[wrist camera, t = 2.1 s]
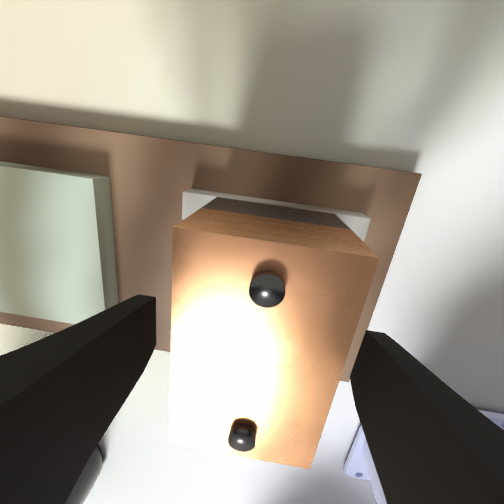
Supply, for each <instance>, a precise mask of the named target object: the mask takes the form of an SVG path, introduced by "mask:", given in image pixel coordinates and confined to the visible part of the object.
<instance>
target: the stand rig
mask: <svg viewBox="0 0 504 504" xmlns="http://www.w3.org/2000/svg"><path fill="white" fill-rule="evenodd" d="M421 175H422V174H420V173H412V172H405V171H398V170H390V169H383V168H375V167H368V166H361V165H353V164H346V163H339V162H331V161H324V160H316V159H309V158H302V157H294V156H287V155H279V154H272V153H265V152H257V151H250V150H243V149H235V148H228V147H220V146H213V145H206V144H198V143H191V142H184V141H176V140H169V139H161V138H154V137H147V136H139V135H132V134H125V133H117V132H110V131H102V130H95V129H88V128H80V127H73V126H65V125H58V124H51V123H43V122H36V121H29V120H21V119H14V118H6V117H0V323H1V324H7V325H13V326H19V327H25V328H31V329H37V330H43V331H49V332H55V333H57V332H59V331H61V330H63V329H66V328H68V327H70V326H72V325H75V324H77V323H79V322H81V321H83V320H85V319H87V318H89V317H91V316H94V315H96V314H98V313H100V312H102V311H104V310H106V309H108V308H110V307H112V306H114V305H116V304H118V303H120V302H122V301H124V300H127V299H129V298H131V297H133V296H136V295H138V294H140V295H147V296H153V297H156V346H155V349H156V350H162V351H168V352H171V307H172V243H173V226H175V225H176V224H178V223H179V222H181V221H182V220H184V219H185V218H187V217H188V216H190V215H191V214H193V213H194V212H196V211H197V210H198V209H200V208H201V207H203V206H204V205H206V204H207V203H209V202H210V201H212V200H213V199H215V198H216V197H222V198H229V199H236V200H243V201H250V202H257V203H264V204H271V205H278V206H285V207H292V208H299V209H306V210H313V211H320V212H327V213H334V214H336V215H337V216H338V217H339V218H340V219H341V220H342V221H343V222H344V223H345V224H346V225H347V226H348V227H349V228H350V229H351V230H352V231H353V232H354V233H355V234H356V235H357V236H358V237H359V238H360V239H361V240H362V241H363V242H364V243H365V244H366V245H367V246H368V247H369V248H370V249H371V250H372V251H373V252H374V253H376V254H377V255H378V256H379V257H380V259H379V262H378V265H377V268H376V271H375V274H374V277H373V280H372V283H371V286H370V289H369V292H368V295H367V298H366V301H365V304H364V307H363V310H362V313H361V316H360V319H359V322H358V325H357V328H356V332H355V335H354V338H353V341H352V344H351V347H350V350H349V353H348V356H347V359H346V362H345V365H344V368H343V371H342V374H341V377H340V381H346V382H349V380H350V374H351V371H352V368H353V366H354V363H355V360H356V357H357V354H358V351H359V349H360V346H361V343H362V340H363V337H364V334H365V331H366V330H367V329H368V326H369V323H370V320H371V317H372V314H373V311H374V309H375V306H376V303H377V300H378V297H379V294H380V292H381V289H382V286H383V283H384V280H385V277H386V274H387V272H388V269H389V266H390V263H391V260H392V257H393V254H394V252H395V249H396V246H397V243H398V240H399V237H400V235H401V232H402V229H403V226H404V223H405V220H406V217H407V215H408V212H409V209H410V206H411V203H412V200H413V198H414V195H415V192H416V189H417V186H418V183H419V180H420V178H421Z"/></svg>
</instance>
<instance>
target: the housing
mask: <svg viewBox="0 0 504 504" xmlns="http://www.w3.org/2000/svg"><path fill="white" fill-rule="evenodd" d="M379 259H380V257H379V256H378V255H377V254H376V253H374V252H373V251H372V250H371V249H370V248H369V247H368V246H367V245H366V244H365V243H364V242H363V241H362V240H361V239H360V238H359V237H358V236H357V235H356V234H355V233H354V232H353V231H352V230H351V229H350V228H349V227H348V226H347V225H346V224H345V223H344V222H343V221H342V220H341V219H340V218H339V217H338V216H337V215H336V214H334V213H327V212H320V211H313V210H306V209H299V208H292V207H285V206H278V205H271V204H264V203H257V202H250V201H243V200H236V199H229V198H222V197H216V198H215V199H213V200H212V201H210V202H209V203H207V204H206V205H204V206H203V207H201V208H200V209H198V210H197V211H196V212H194V213H193V214H191V215H190V216H188V217H187V218H185V219H184V220H182V221H181V222H179V223H178V224H176V225H175V226H173V243H172V307H171V372H170V436H169V443H170V444H175V445H181V446H186V447H192V448H197V449H203V450H208V451H214V452H219V453H225V454H230V455H236V456H241V457H246V458H252V459H257V460H263V461H268V462H274V463H279V464H285V465H290V466H296V467H301V468H307V469H310V467H311V464H312V461H313V458H314V455H315V452H316V449H317V446H318V443H319V440H320V437H321V434H322V431H323V428H324V425H325V422H326V419H327V416H328V413H329V410H330V407H331V404H332V401H333V398H334V395H335V392H336V389H337V386H338V383H339V380H340V377H341V374H342V371H343V368H344V365H345V362H346V359H347V356H348V353H349V350H350V347H351V344H352V341H353V338H354V335H355V332H356V328H357V325H358V322H359V319H360V316H361V313H362V310H363V307H364V304H365V301H366V298H367V295H368V292H369V289H370V286H371V283H372V280H373V277H374V274H375V271H376V268H377V265H378V262H379Z"/></svg>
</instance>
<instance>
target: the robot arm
mask: <svg viewBox="0 0 504 504" xmlns="http://www.w3.org/2000/svg"><path fill="white" fill-rule="evenodd" d="M155 346H156V297H153V296H147V295H140V294H138V295H136V296H133V297H131V298H129V299H127V300H124V301H122V302H120V303H118V304H116V305H114V306H112V307H110V308H108V309H106V310H104V311H102V312H100V313H98V314H96V315H94V316H91V317H89V318H87V319H85V320H83V321H81V322H79V323H77V324H75V325H72V326H70V327H68V328H66V329H63V330H61V331H59V332H57V333H54V334H52V335H50V336H48V337H45V338H43V339H41V340H39V341H36V342H34V343H32V344H29V345H27V346H24V347H22V348H19V349H17V350H14V351H12V352H9V353H6V354H4V355H1V356H0V504H65V503H66V501H67V499H68V497H69V495H70V493H71V491H72V490H73V488H74V486H75V484H76V482H77V480H78V478H79V476H80V475H81V473H82V471H83V469H84V467H85V465H86V463H87V461H88V460H89V458H90V456H91V454H92V453H93V451H94V449H95V448H96V446H97V444H98V443H99V441H100V439H101V438H102V436H103V435H104V433H105V432H106V430H107V428H108V427H109V425H110V424H111V422H112V421H113V419H114V417H115V416H116V414H117V413H118V411H119V410H120V408H121V407H122V405H123V403H124V402H125V400H126V399H127V397H128V396H129V394H130V392H131V391H132V389H133V388H134V386H135V384H136V383H137V381H138V380H139V378H140V376H141V375H142V373H143V372H144V370H145V367H146V365H147V363H148V361H149V359H150V357H151V355H152V353H153V351H154V349H155ZM350 380H351V386H352V391H353V396H354V401H355V406H356V410H357V413H358V416H359V419H360V422H361V426H360V428H359V431H358V433H357V436H356V438H355V441H354V443H353V445H352V448H351V450H350V453H349V455H348V458H347V460H346V463H345V465H344V472H345V475H346V476H348V477H351V478H357V479H362V480H367V481H370V482H371V485H372V489H373V492H374V496H375V499H376V503H377V504H504V414H501V413H495V412H489V411H483V410H477V409H476V408H475V407H473V406H472V405H471V404H470V403H468V402H467V401H466V400H465V399H463V398H462V397H461V396H460V395H458V394H457V393H456V392H455V391H453V390H452V389H451V388H450V387H449V386H447V385H446V384H445V383H444V382H443V381H441V380H440V379H439V378H438V377H437V376H436V375H434V374H433V373H432V372H431V371H430V370H428V369H427V368H426V367H425V366H424V365H423V364H421V363H420V362H419V361H418V360H417V359H416V358H414V357H413V356H412V355H411V354H410V353H409V352H407V351H406V350H405V349H404V348H403V347H401V346H400V345H399V344H398V343H397V342H395V341H394V340H393V339H392V338H390V337H389V336H388V335H386V334H385V333H380V332H374V331H368V330H366V331H365V334H364V337H363V340H362V343H361V346H360V349H359V351H358V354H357V357H356V360H355V363H354V366H353V368H352V371H351V374H350Z"/></svg>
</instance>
